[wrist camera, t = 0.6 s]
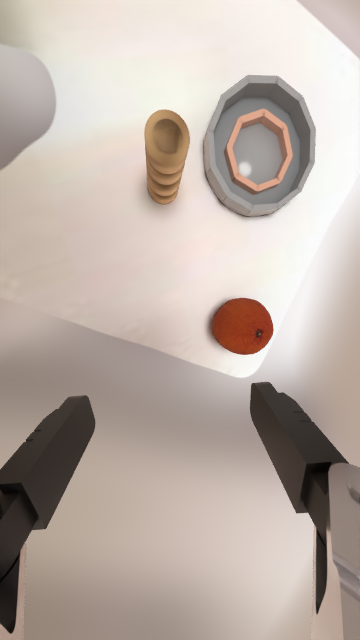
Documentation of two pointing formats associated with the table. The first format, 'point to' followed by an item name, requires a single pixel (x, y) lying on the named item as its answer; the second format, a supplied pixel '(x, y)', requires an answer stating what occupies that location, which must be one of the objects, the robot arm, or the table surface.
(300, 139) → the round tray
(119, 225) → the table surface
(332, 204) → the table surface
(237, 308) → the fruit
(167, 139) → the bead stack
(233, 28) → the table surface
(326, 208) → the table surface
